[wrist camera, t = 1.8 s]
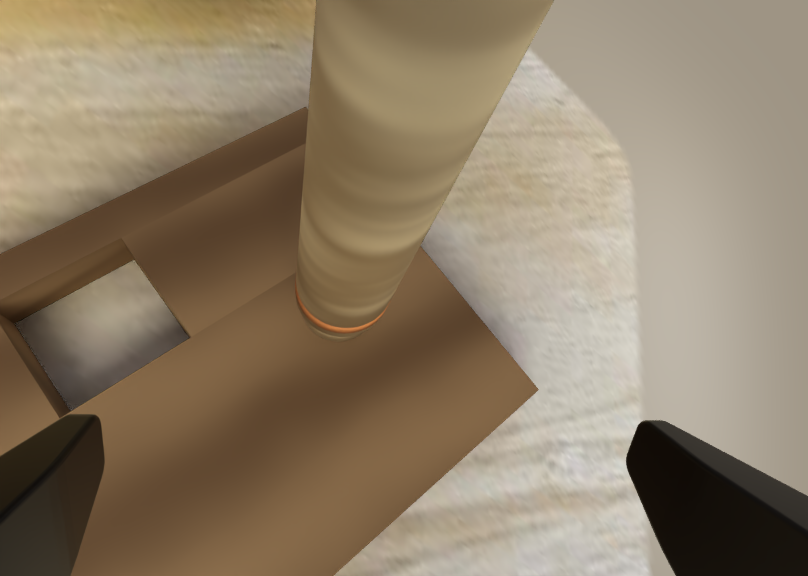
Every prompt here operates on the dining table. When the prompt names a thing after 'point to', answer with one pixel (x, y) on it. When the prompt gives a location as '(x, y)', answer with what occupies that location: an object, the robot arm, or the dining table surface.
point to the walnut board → (251, 379)
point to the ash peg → (392, 138)
